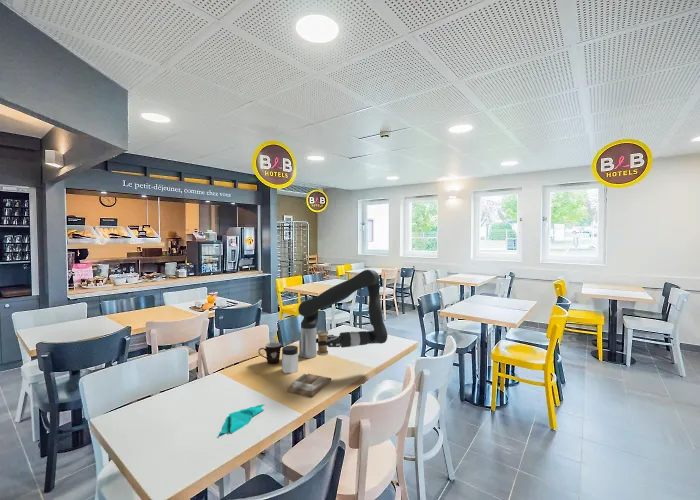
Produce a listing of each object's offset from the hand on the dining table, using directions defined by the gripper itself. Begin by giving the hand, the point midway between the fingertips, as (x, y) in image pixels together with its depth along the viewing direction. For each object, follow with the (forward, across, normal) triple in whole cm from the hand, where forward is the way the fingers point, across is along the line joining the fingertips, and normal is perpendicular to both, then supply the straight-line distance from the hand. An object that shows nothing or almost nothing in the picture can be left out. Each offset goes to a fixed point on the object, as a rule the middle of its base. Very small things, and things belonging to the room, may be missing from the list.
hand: (317, 342), depth 169 cm
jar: (+12, -13, +18) cm, 25 cm away
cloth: (+36, +29, +19) cm, 50 cm away
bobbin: (-3, 0, +6) cm, 7 cm away
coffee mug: (+20, -27, +18) cm, 39 cm away
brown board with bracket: (+5, +8, +18) cm, 20 cm away
